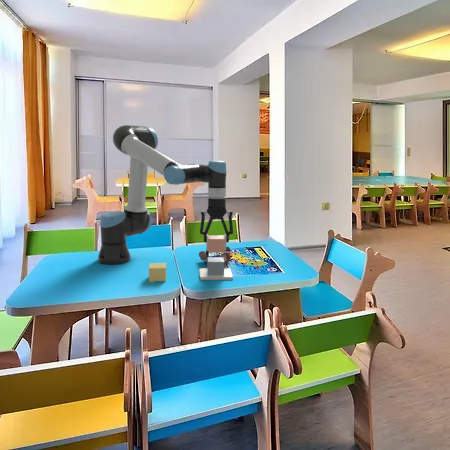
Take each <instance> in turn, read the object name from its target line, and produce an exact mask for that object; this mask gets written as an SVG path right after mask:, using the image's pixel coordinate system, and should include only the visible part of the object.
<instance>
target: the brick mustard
mask: <svg viewBox="0 0 450 450" xmlns="http://www.w3.org/2000/svg"><path fill="white" fill-rule="evenodd" d="M155 281H166V282H167V262H157V263H156V262H154V263H153V262H151V263H149V267H148V282H150V283H154V282H155Z"/></svg>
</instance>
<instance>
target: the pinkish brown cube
mask: <svg viewBox="0 0 450 450" xmlns="http://www.w3.org/2000/svg"><path fill="white" fill-rule="evenodd" d="M208 236H209V238H208V252H209V254H212V253H213V254H214V253H219V254H220V253H221V254H222V253H225V237H224V234H222V235H219V234H218V235H217V234H213V235H212V234H211V235H209V234H208Z"/></svg>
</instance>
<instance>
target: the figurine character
mask: <svg viewBox="0 0 450 450" xmlns="http://www.w3.org/2000/svg"><path fill="white" fill-rule="evenodd" d="M231 251H232V250H231V249H230V247H229V246H226V250H225V253H221V254H217V255H210V256H209V254H210V253H209V252H208V250H207V249H206V248H205V250H201V251H199V252H198V257H199V259H200V260H201V262H202V261H203V264H204V265H207V257H223V259H224V264H225V263H228V262H230V261H231V254H230V252H231Z"/></svg>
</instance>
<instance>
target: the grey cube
mask: <svg viewBox="0 0 450 450" xmlns="http://www.w3.org/2000/svg"><path fill="white" fill-rule="evenodd" d="M206 261H207V262H206V263H207V264H206V266H207V267H206V268H207V271H208V275H224V268H225V263H224V259H223V257H221V256H220V257H207V260H206Z"/></svg>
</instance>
